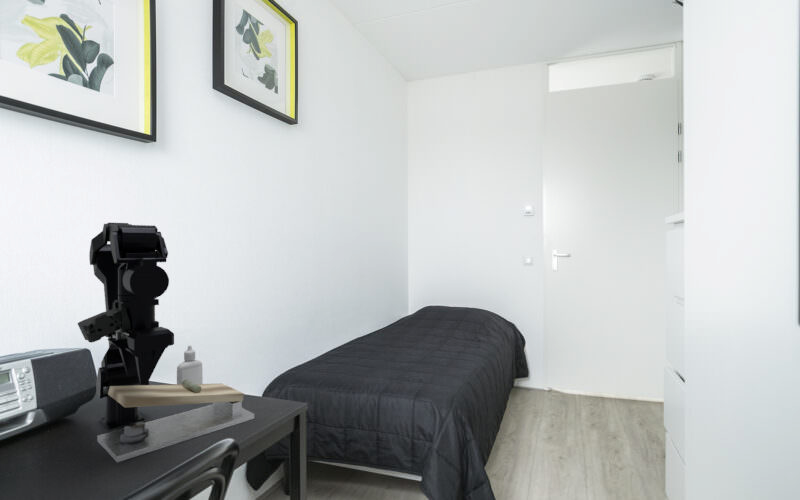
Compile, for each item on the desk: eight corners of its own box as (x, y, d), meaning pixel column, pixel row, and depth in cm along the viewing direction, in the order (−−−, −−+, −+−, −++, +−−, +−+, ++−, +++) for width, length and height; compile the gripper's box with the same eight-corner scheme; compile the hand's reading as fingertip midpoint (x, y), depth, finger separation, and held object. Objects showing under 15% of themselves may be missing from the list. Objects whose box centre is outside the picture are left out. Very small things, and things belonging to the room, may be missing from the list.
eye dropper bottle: (202, 396, 105) (202, 346, 105) (176, 399, 103) (176, 349, 103) (202, 390, 109) (202, 343, 109) (177, 394, 107) (177, 345, 107)
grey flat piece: (97, 441, 81) (97, 420, 81) (227, 404, 99) (227, 388, 99) (116, 462, 73) (116, 439, 73) (254, 418, 91) (254, 400, 91)
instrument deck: (107, 394, 81) (111, 378, 82) (220, 390, 97) (223, 377, 98) (124, 407, 74) (128, 390, 75) (242, 400, 90) (245, 386, 91)
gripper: (69, 293, 79) (70, 379, 79) (98, 303, 67) (99, 404, 67) (138, 289, 87) (138, 366, 87) (175, 296, 75) (175, 387, 75)
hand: (137, 379), depth 79 cm, fingers open, 7 cm apart
